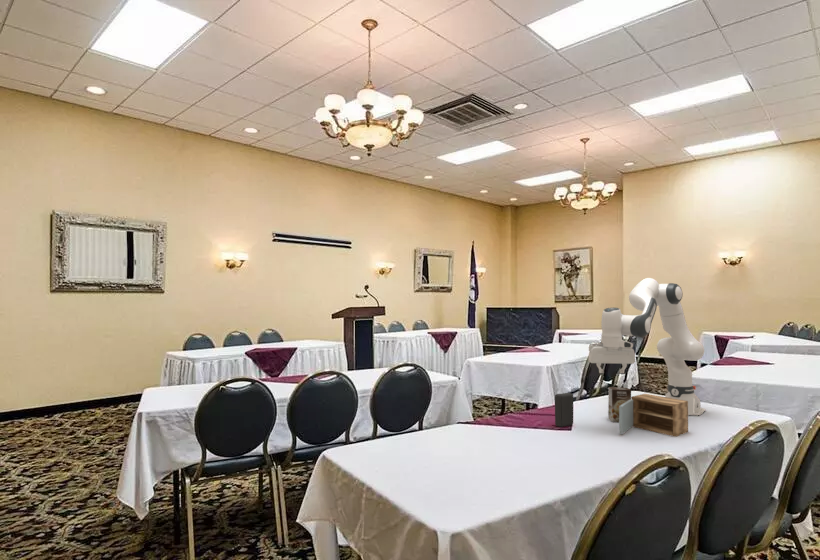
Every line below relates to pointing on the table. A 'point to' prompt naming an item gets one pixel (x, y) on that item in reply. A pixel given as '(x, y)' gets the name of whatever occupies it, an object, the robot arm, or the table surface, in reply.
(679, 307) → the robot arm
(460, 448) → the table surface
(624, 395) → the coffee box
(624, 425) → the door
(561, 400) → the card reader
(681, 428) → the cabinet
